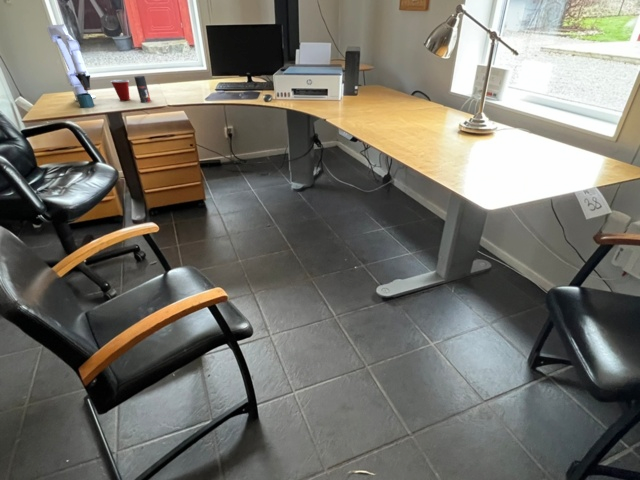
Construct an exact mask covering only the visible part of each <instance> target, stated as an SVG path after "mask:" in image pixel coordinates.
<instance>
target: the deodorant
mask: <svg viewBox="0 0 640 480" xmlns="http://www.w3.org/2000/svg"><path fill="white" fill-rule="evenodd" d="M134 81H135V85H136V88H137V93H138V97H139V100H140V103H141V104H146V103H151V101H152V100H151V97H150V92H149V88H148V85H147V80H146V77H145V75H135V76H134Z"/></svg>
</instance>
